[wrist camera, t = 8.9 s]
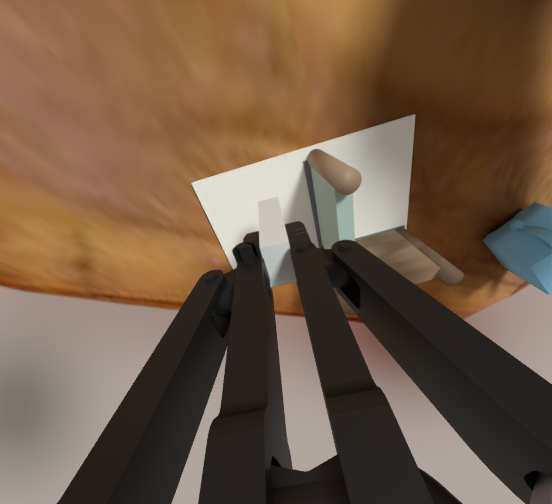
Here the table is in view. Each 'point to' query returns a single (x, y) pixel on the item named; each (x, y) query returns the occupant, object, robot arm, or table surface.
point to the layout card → (300, 192)
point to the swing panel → (333, 196)
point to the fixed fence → (408, 259)
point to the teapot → (526, 245)
